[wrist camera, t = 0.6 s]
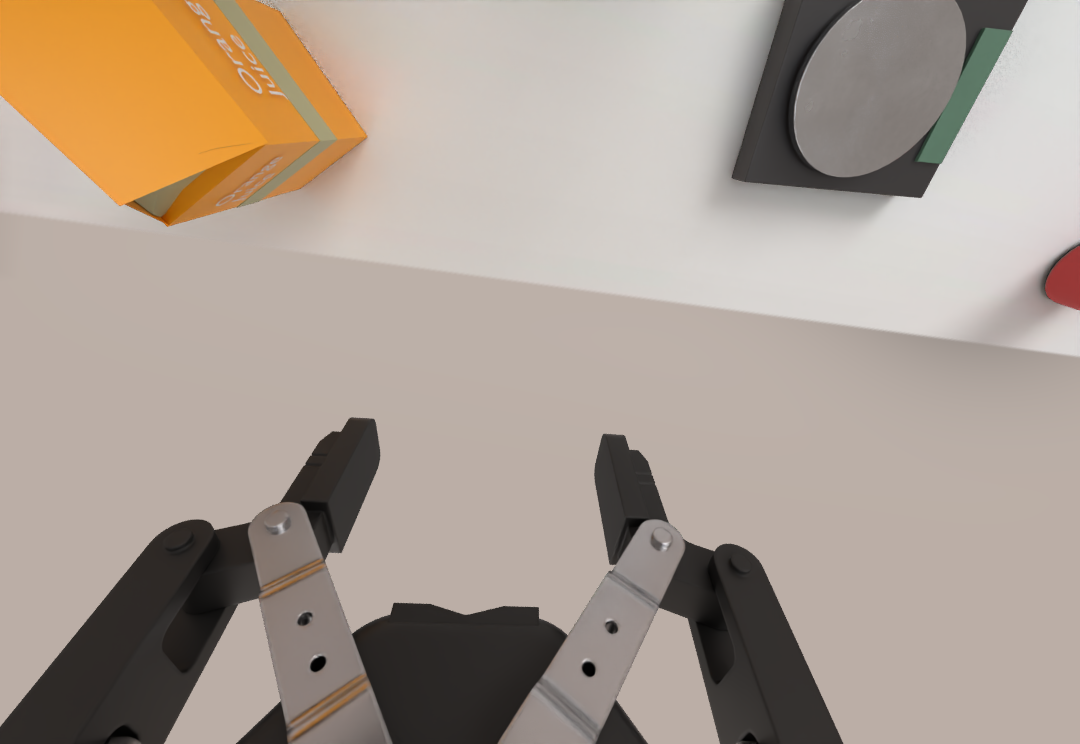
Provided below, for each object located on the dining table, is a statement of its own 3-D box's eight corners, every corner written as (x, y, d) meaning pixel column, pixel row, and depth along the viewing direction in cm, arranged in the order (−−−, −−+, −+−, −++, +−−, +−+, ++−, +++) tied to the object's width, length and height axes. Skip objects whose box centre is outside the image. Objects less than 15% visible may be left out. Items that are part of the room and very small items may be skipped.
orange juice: (299, 190, 34) (66, 258, 17) (206, 78, 30) (-229, 17, 13) (370, 136, 32) (187, 150, 15) (280, 7, 28) (-115, -177, 11)
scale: (794, -34, 27) (820, -49, 25) (999, -8, 28) (1043, -20, 26) (731, 178, 34) (746, 182, 32) (898, 193, 35) (925, 198, 33)
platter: (830, -26, 25) (838, -30, 24) (993, -5, 26) (1005, -9, 25) (764, 169, 31) (770, 170, 30) (899, 182, 32) (907, 183, 31)
